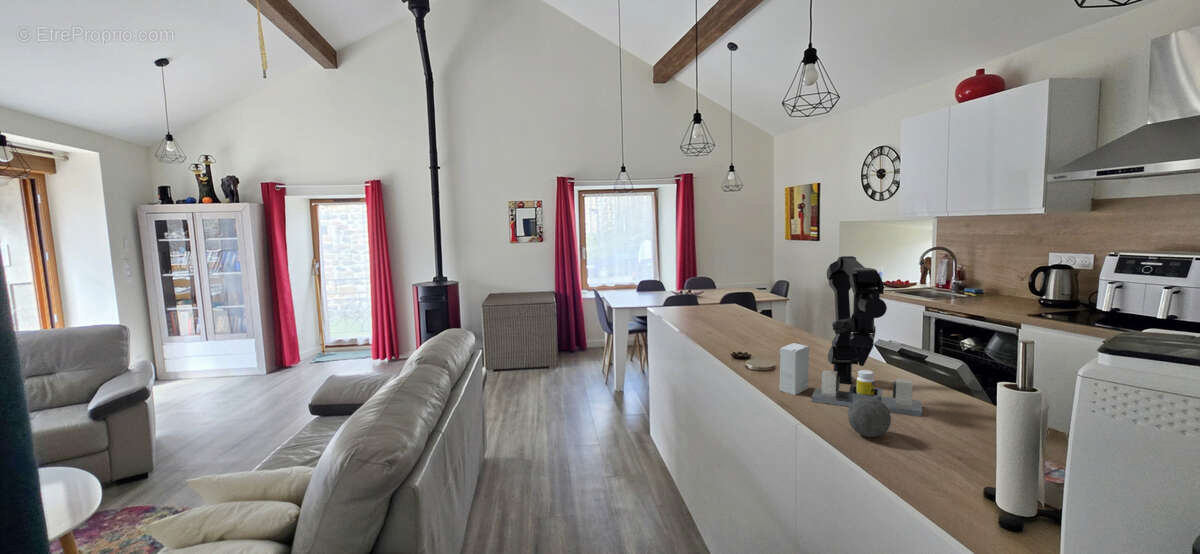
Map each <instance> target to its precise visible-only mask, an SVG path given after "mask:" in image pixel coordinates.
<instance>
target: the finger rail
mask: <svg viewBox="0 0 1200 554" xmlns="http://www.w3.org/2000/svg"><path fill="white" fill-rule="evenodd" d="M840 384H841V382H840V375H837V371H833V370H825V369H823V371H822V373H821V388H816V387H815V389H814V390H813V393H812V396H811V402H812V403H818V402H819V403H820V404H825V403H829V404H828V405H832V404H836V405H835V406H840V405H842V406H841V407H847V406H848V408H850V406H851V404H852V403H853V402H854V401H856V400H858V399H860V398H865V397H869V398H874V399H877V400H879V401H880V402H882V403H883V404H884V405H885V406H886V407H887V408H888V410H889V412H890V414H892V413H893V414H899V415H907V416H914V417H922V416H923V408H922V401H920V400H915V399H913V379H911V378H909V379H908V378H900V377H896V380H893V382H892V397H890V396H889V397H888V396H883V395H882V392H883V391H882V390H883V389H882V388H880V387H874V395H865V394H857V393H856V392H857V384H856V385H855V384H850V387H849V390H848V391H841V390H840V386H841V385H840ZM819 403H818V404H819Z"/></svg>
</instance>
